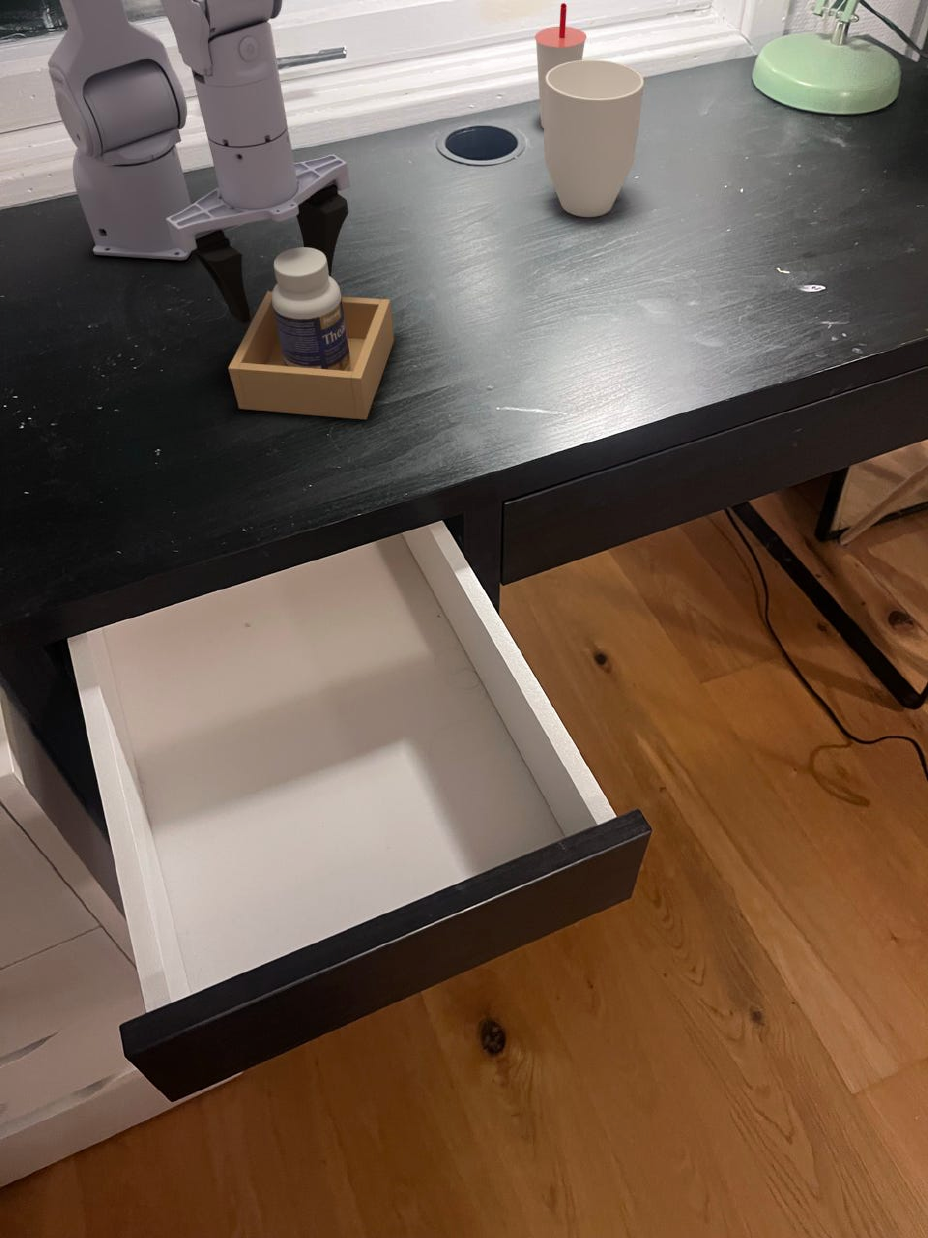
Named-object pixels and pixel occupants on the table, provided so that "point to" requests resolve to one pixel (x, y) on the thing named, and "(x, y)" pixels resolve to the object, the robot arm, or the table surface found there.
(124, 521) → the table surface
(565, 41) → the cup
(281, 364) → the desk tray
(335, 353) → the pill bottle
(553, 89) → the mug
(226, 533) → the table surface
